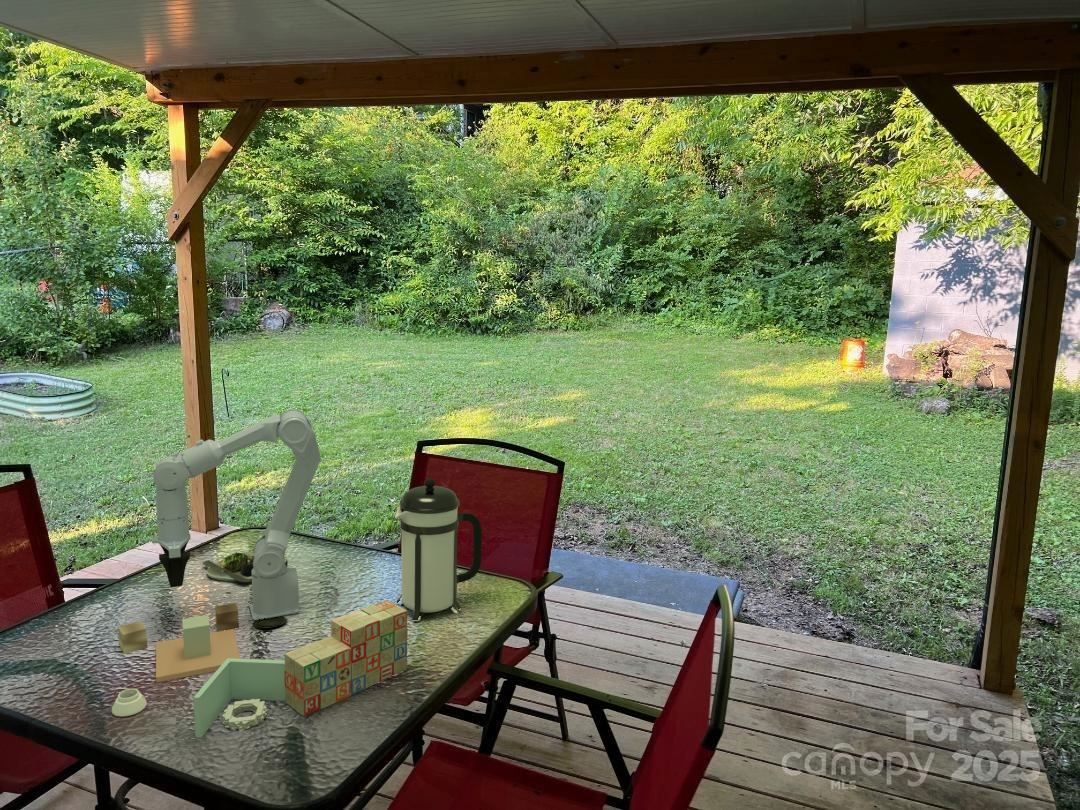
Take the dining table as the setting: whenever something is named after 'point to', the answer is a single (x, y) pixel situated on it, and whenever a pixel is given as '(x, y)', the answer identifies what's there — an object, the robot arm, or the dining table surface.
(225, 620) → the walnut block
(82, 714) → the dining table surface
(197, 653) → the sage block
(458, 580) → the coffee press
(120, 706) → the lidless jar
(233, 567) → the salad plate
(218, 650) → the tan flat square slab
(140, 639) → the pale oak block
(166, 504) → the robot arm
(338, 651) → the stack of blocks
